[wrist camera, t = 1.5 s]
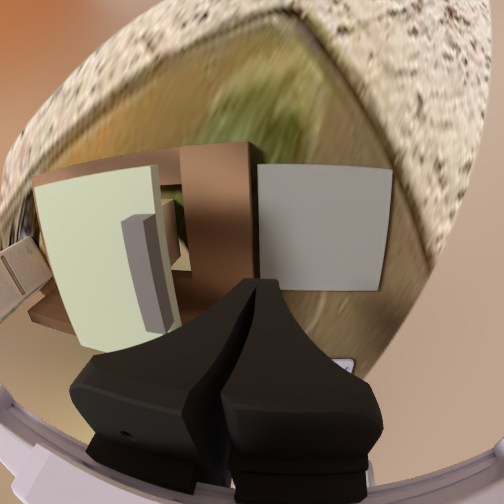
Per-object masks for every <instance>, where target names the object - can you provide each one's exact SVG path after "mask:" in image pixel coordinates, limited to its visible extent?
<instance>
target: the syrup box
mask: <svg viewBox="0 0 504 504" xmlns="http://www.w3.org/2000/svg"><path fill="white" fill-rule="evenodd" d="M52 277H53V276H52V273H51V271H50V269H49V267H48V265H47V263H46V262H45V260H44V258H43V256H42V255H41V253H40V251H39V249H38V248H37V246H36V244H35V242H34V241H33V239H32V237H31V236H28V237H26V238H24V239H23V240H21V241H19V242H17V243H15V244H13V245H11V246H10V247H8V248H6V249H5V250H3V251H1V252H0V324H1V323H2V322H3V321H4V320H5V319H6V318H7V317H8V316H10V315H11V314H12V313H13V312H14V311H15V310H16V309H17V308H19V307H20V306H21V305H22V304H23V303H25V302H26V301H27V300H28V299H29V298H31V297H32V296H33V295H34V294H35V293H37V292H38V291H39V290H40V289H41V288H42V287H43V286H44V285H45V284H46V283H47V282H48V281H49V280H50V279H51V278H52Z"/></svg>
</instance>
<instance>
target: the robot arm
mask: <svg viewBox="0 0 504 504" xmlns="http://www.w3.org/2000/svg"><path fill="white" fill-rule="evenodd" d="M353 366H354V362H353V360H352V359H330V358H329V357H328V356H327V355H326V354H325V353H324V352H323V351H321V350H320V349H319V348H318V347H317V346H316V345H315V344H314V343H313V342H312V340H311V339H310V338H309V337H308V336H307V335H306V333H305V332H304V331H303V330H302V328H301V327H300V326H299V324H298V323H297V321H296V320H295V318H294V317H293V315H292V314H291V312H290V310H289V308H288V306H287V304H286V302H285V300H284V298H283V296H282V293H281V290H280V287H279V281H278V280H277V279H260V278H243V279H242V280H241V281H240V282H239V283H238V284H237V285H236V286H235V287H234V288H232V289H231V290H230V291H229V292H228V293H227V294H226V295H225V296H224V297H222V298H221V299H220V300H219V301H218V302H216V303H215V304H214V305H213V306H211V307H210V308H209V309H207V310H206V311H205V312H203V313H202V314H200V315H199V316H197V317H196V318H194V319H193V320H191V321H189V322H188V323H186V324H184V325H183V326H181V327H179V328H177V329H175V330H173V331H170V332H168V333H166V334H164V335H162V336H160V337H157V338H155V339H152V340H150V341H147V342H144V343H142V344H138V345H135V346H132V347H129V348H125V349H122V350H117V351H113V352H108V353H104V354H99V355H94V356H93V357H92V358H91V359H90V361H89V362H88V363H87V364H86V366H85V367H84V369H83V370H82V371H81V372H80V374H79V375H78V377H77V378H76V379H75V381H74V382H73V383H72V384H71V386H70V389H69V392H70V396H71V399H72V402H73V404H74V405H75V407H76V408H77V410H78V411H79V412H80V414H81V415H82V416H83V418H84V419H85V420H86V421H87V423H88V424H89V425H90V426H91V428H92V429H93V430H94V431H95V435H94V437H93V438H92V440H91V442H90V444H89V445H87V444H85V443H83V442H81V441H79V440H77V439H75V438H73V437H72V436H70V435H68V434H66V433H64V432H63V431H61V430H59V429H57V428H56V427H54V426H52V425H50V424H49V423H47V422H46V421H44V420H42V419H41V418H39V417H38V416H36V415H35V414H33V413H32V412H30V411H29V410H27V409H26V408H24V407H23V406H22V405H20V404H19V403H17V402H16V401H15V400H14V398H13V397H12V395H11V394H10V393H9V391H8V390H7V389H6V388H5V387H4V386H3V384H1V383H0V461H1V462H2V463H3V464H4V465H5V467H6V468H7V469H8V470H9V471H10V472H11V473H12V474H13V475H14V476H15V477H16V478H15V480H14V481H13V483H12V485H11V487H12V490H13V492H14V494H15V495H16V496H17V497H18V498H19V499H20V500H21V501H22V502H23V503H24V504H504V437H503V438H502V439H501V440H500V441H499V442H498V443H497V444H496V445H495V447H494V448H492V449H490V450H488V451H486V452H484V453H482V454H480V455H477V456H475V457H473V458H470V459H468V460H466V461H463V462H461V463H458V464H455V465H453V466H450V467H447V468H444V469H441V470H439V471H435V472H432V473H429V474H426V475H422V476H418V477H415V478H411V479H407V480H403V481H398V482H394V483H389V484H384V485H378V486H375V480H374V472H373V467H372V464H371V462H370V461H369V460H368V453H369V452H370V450H371V449H372V447H373V446H374V445H375V443H376V442H377V441H378V439H379V438H380V436H381V434H382V431H383V429H384V428H383V420H382V415H381V411H380V408H379V405H378V403H377V400H376V398H375V396H374V394H373V392H372V389H371V387H370V385H369V384H368V383H366V382H365V381H363V380H362V379H360V378H358V377H357V376H355V375H353V374H352V373H351V372H352V369H353ZM346 367H348V368H346ZM111 479H112V480H111ZM231 479H233V482H234V485H233V488H230V487H231ZM141 491H142V492H141Z"/></svg>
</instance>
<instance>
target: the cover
mask: <svg viewBox="0 0 504 504" xmlns="http://www.w3.org/2000/svg"><path fill="white" fill-rule="evenodd" d="M34 189H35V196H36V202H37V208H38V213H39V218H40V223H41V228H42V232H43V237H44V241H45V245H46V249H47V253H48V256H49V260H50V264H51V267H52V270H53V274H54V277H55V280H56V283H57V286H58V289H59V292H60V295H61V298H62V300H63V303H64V306H65V308H66V311H67V314H68V316H69V319H70V321H71V323H72V326H73V328H74V331H75V333H76V335H77V337H78V339H79V342H80V344H81V345H82V346H85V347H89V348H92V349H96V350H99V351H103V352H107V353H108V352H113V351H117V350H122V349H125V348H129V347H132V346H135V345H138V344H142V343H144V342H147V341H150V340H152V339H155V338H157V337H160V336H162V335H164V334H166V333H168V332H170V331H173V330H175V329H177V328H179V327H181V326H182V324H181V320H180V315H179V310H178V305H177V300H176V294H175V289H174V284H173V278H172V272H171V266H170V260H169V254H168V247H167V240H166V233H165V225H164V217H163V209H162V200H161V191H160V180H159V169H158V165H150V166H142V167H134V168H127V169H120V170H114V171H108V172H102V173H96V174H91V175H85V176H80V177H75V178H70V179H66V180H61V181H57V182H52V183H48V184H44V185H41V186H37V187H34Z"/></svg>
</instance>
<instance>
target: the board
mask: <svg viewBox="0 0 504 504" xmlns="http://www.w3.org/2000/svg"><path fill="white" fill-rule="evenodd" d="M150 165H158V169H159V180H160V185H172V184H182V193H183V204H184V214H185V224H186V233H187V241H188V249H189V257H190V265H191V271H179V270H171V272H172V278H173V284H174V289H175V294H176V300H177V305H178V310H179V315H180V320H181V324H182V326H183V325H184V324H186V323H188V322H189V321H191V320H193V319H194V318H196V317H197V316H199V315H200V314H202V313H203V312H205V311H206V310H207V309H209V308H210V307H211V306H213V305H214V304H215V303H216V302H218V301H219V300H220V299H221V298H222V297H224V296H225V295H226V294H227V293H228V292H229V291H230V290H231V289H232V288H234V287H235V286H236V285H237V284H238V283H239V282H240V281H241V280H242V279H243V278H255V275H254V244H253V213H252V183H251V153H250V142H234V143H217V144H204V145H193V146H183V147H174V148H166V149H159V150H151V151H145V152H138V153H132V154H126V155H120V156H115V157H110V158H105V159H100V160H95V161H90V162H86V163H82V164H77V165H73V166H69V167H65V168H61V169H58V170H54V171H50V172H47V173H43V174H40V175H36V176H33V177H31V179H32V187H33V194H34V200H35V206H36V212H37V217H38V222H39V227H40V231H41V236H42V240H43V244H44V248H45V252H46V255H47V259H48V263H49V266H50V269H51V273H52V276H53V279H54V282H55V285H56V288H55V289H54V290H52V291H51V292H50V293H49V294H47V295H46V296H45V297H44V298H43V299H42V300H40V301H39V302H38V303H36V304H35V305H34V306H33V307H32V308H30V309H29V310H28V313H29V316H30V318H31V320H32V322H35V323H38V324H41V325H44V326H47V327H50V328H53V329H56V330H59V331H63V332H66V333H69V334H73V335H76V333H75V331H74V328H73V326H72V323H71V321H70V319H69V316H68V314H67V311H66V308H65V306H64V303H63V300H62V298H61V295H60V292H59V289H58V286H57V283H56V280H55V277H54V274H53V270H52V267H51V264H50V260H49V256H48V253H47V249H46V245H45V241H44V237H43V232H42V228H41V223H40V218H39V213H38V208H37V202H36V196H35V189H34V187H37V186H41V185H44V184H48V183H52V182H57V181H61V180H66V179H70V178H75V177H80V176H85V175H91V174H96V173H102V172H108V171H114V170H120V169H127V168H134V167H142V166H150ZM76 336H77V335H76Z"/></svg>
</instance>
